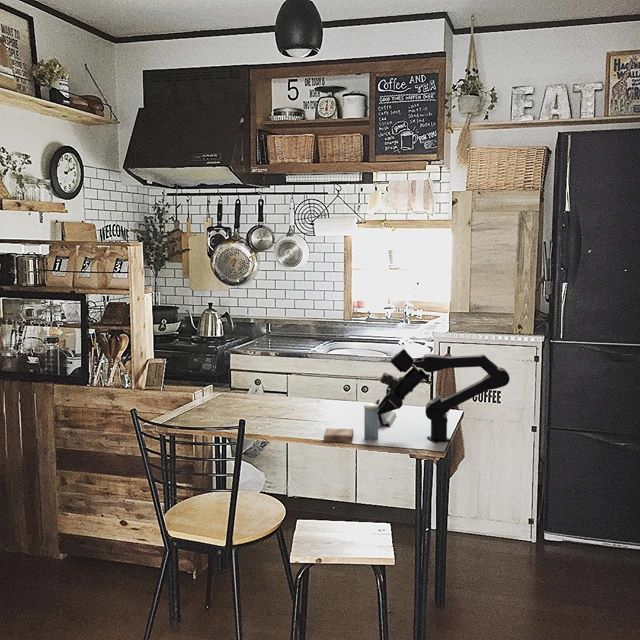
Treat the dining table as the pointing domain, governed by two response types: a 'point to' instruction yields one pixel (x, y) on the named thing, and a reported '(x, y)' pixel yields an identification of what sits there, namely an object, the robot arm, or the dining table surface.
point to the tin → (371, 421)
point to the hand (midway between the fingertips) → (378, 411)
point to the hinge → (385, 415)
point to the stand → (338, 435)
